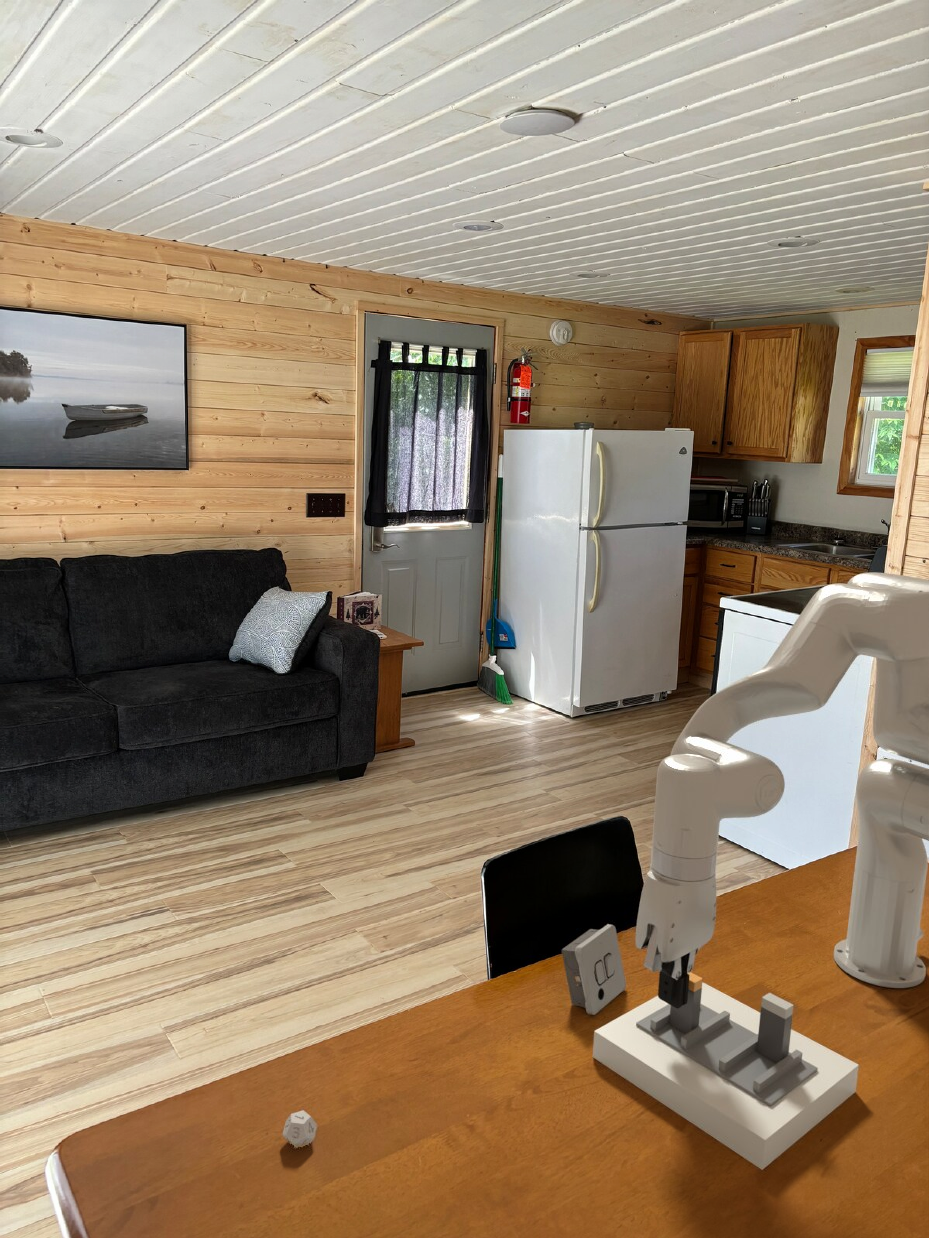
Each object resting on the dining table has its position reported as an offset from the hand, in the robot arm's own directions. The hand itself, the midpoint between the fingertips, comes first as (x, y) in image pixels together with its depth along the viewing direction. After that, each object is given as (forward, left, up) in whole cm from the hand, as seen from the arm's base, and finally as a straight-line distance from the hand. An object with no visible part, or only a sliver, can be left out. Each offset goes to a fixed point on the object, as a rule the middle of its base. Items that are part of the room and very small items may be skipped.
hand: (672, 1000), depth 117 cm
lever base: (-4, +5, -9) cm, 11 cm away
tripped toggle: (-3, 0, -5) cm, 6 cm away
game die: (+42, -17, -9) cm, 46 cm away
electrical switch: (-4, -16, -9) cm, 19 cm away
